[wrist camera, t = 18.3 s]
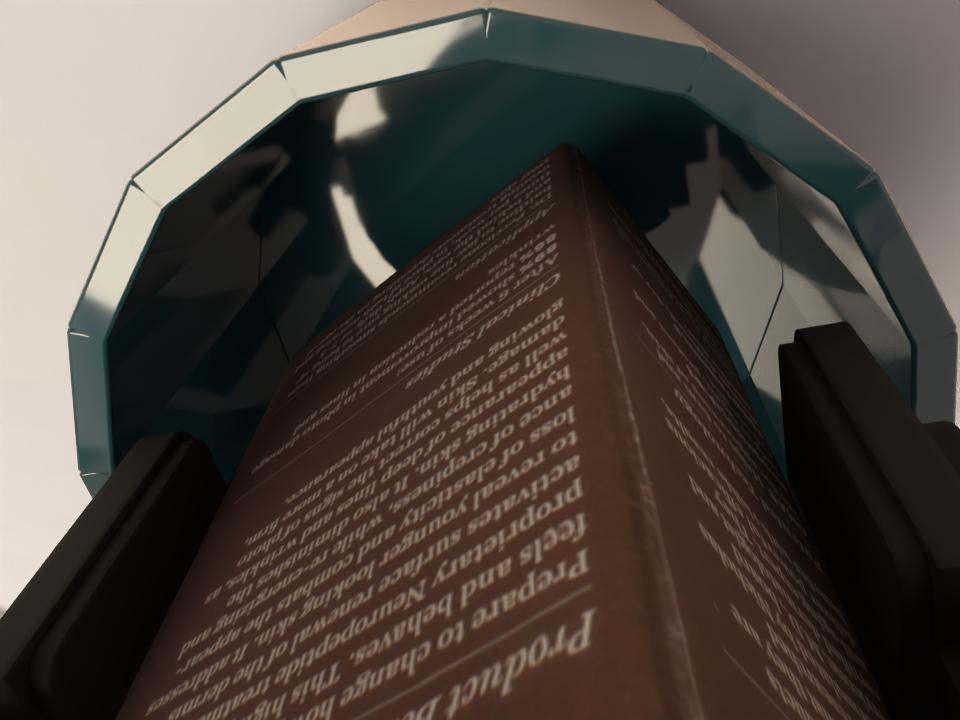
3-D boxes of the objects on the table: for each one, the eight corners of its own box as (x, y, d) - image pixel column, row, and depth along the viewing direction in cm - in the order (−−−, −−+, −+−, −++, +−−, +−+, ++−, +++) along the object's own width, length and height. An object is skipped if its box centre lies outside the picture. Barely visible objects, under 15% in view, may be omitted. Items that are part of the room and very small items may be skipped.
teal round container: (159, 53, 15) (-101, 148, 9) (781, -103, 13) (976, -112, 7) (340, 521, 20) (249, 788, 14) (812, 454, 18) (946, 728, 12)
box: (463, 518, 16) (285, 1816, 5) (290, 348, 14) (-481, 1675, 4) (748, 341, 13) (1489, 1946, 3) (580, 120, 12) (829, 1745, 1)
